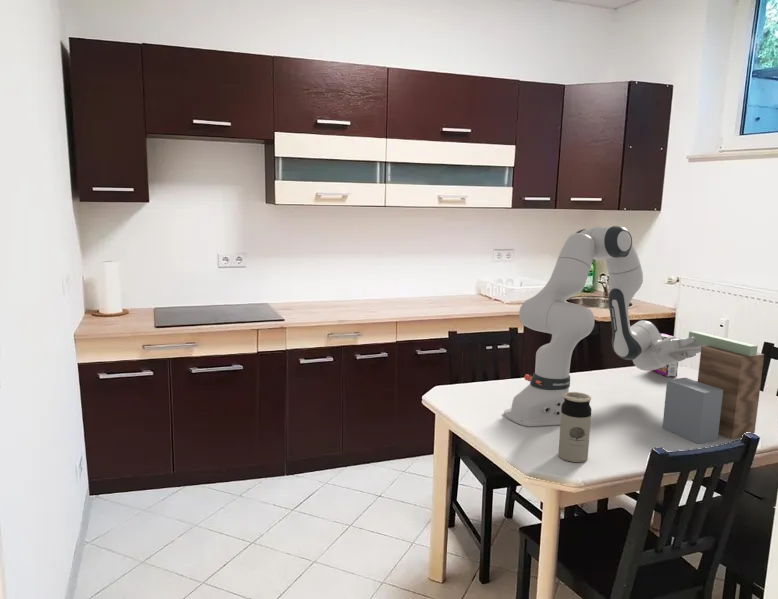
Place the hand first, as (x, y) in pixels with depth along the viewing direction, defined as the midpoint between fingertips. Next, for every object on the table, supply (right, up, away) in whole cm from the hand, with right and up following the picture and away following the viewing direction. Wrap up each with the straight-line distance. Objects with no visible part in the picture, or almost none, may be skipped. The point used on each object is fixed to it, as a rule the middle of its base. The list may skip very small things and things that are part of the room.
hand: (704, 338), depth 194 cm
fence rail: (+2, -3, -5) cm, 6 cm away
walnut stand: (+3, -29, -5) cm, 29 cm away
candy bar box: (+13, -19, +57) cm, 62 cm away
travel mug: (-52, -32, -28) cm, 67 cm away
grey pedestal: (-10, -29, -9) cm, 32 cm away
